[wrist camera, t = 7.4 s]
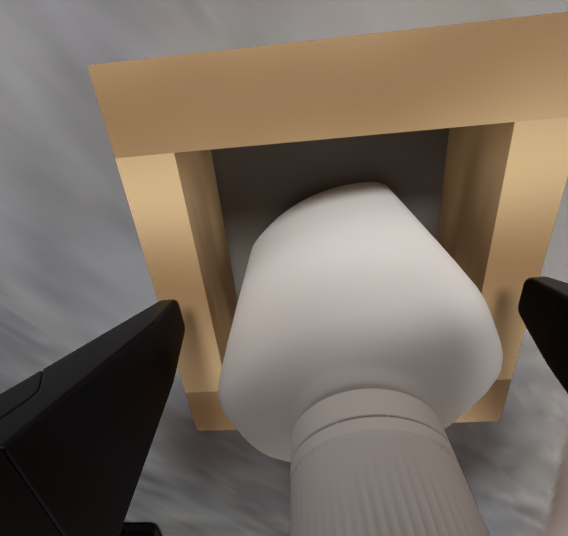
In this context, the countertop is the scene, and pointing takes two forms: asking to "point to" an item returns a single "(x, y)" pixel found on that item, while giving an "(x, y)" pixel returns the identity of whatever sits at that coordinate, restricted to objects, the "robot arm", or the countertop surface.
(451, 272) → the eye dropper bottle
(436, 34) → the wooden square frame
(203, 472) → the countertop surface
